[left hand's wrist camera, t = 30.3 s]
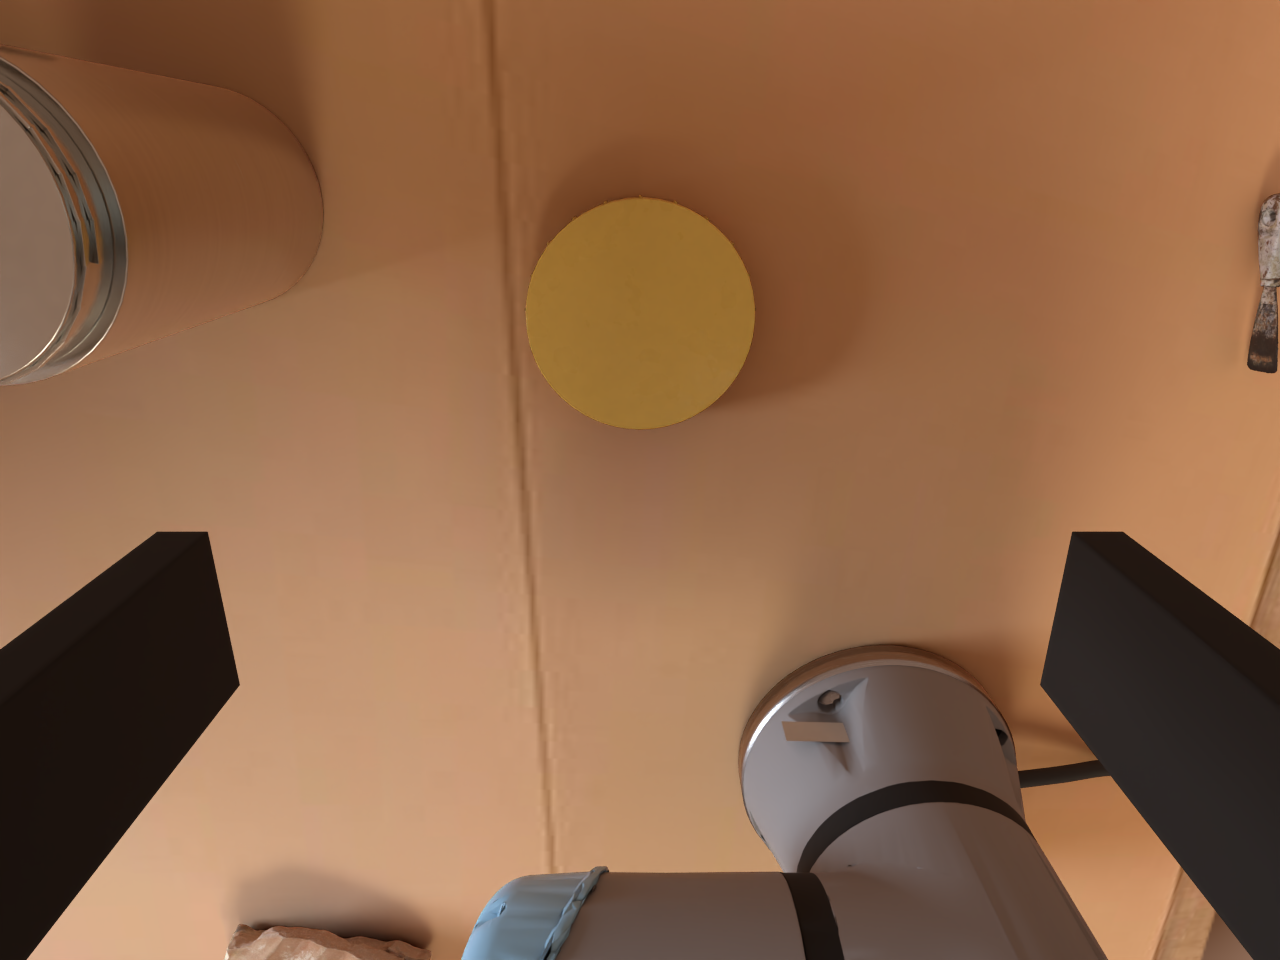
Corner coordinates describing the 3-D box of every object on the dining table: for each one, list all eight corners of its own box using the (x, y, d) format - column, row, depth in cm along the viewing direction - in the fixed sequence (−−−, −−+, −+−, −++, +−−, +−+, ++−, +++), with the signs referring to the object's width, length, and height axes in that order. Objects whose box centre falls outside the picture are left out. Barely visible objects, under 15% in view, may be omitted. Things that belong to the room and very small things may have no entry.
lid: (728, 433, 40) (732, 445, 38) (519, 403, 40) (513, 414, 38) (771, 215, 37) (778, 218, 35) (541, 179, 36) (536, 179, 34)
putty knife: (1280, 190, 36) (1309, 192, 34) (1262, 365, 39) (1288, 373, 37) (1256, 194, 36) (1284, 196, 35) (1240, 369, 39) (1265, 377, 37)
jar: (298, 335, 39) (65, 448, 23) (96, 262, 37) (-294, 328, 22) (345, 135, 35) (113, 108, 20) (127, 48, 34) (-303, -54, 19)
